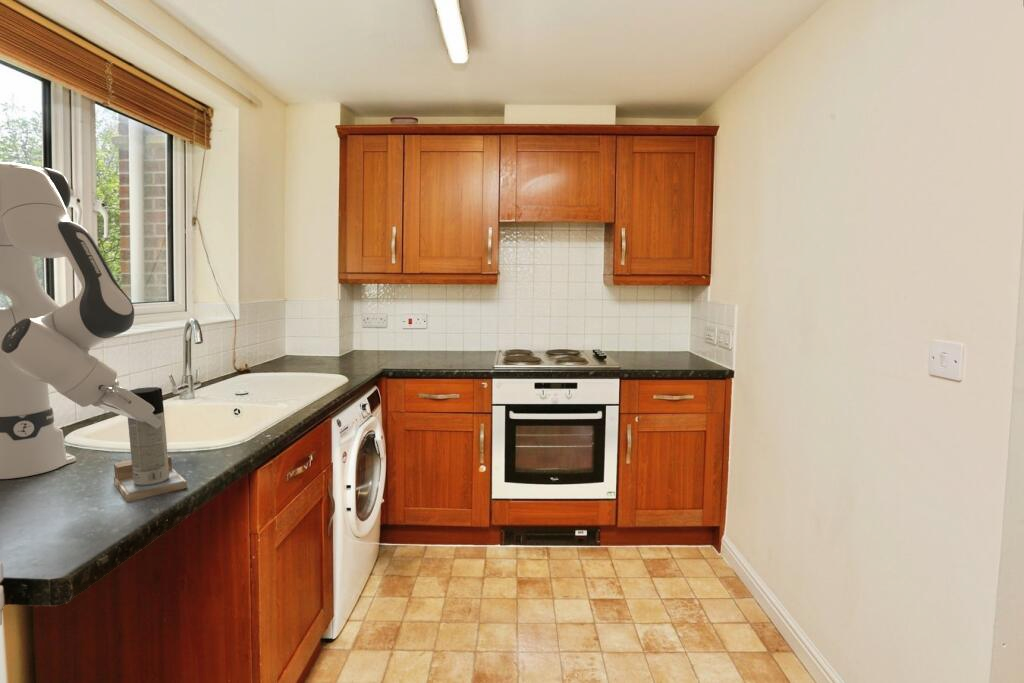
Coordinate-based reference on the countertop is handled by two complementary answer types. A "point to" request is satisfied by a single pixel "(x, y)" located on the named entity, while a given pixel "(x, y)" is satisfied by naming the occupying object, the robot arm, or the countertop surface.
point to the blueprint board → (135, 492)
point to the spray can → (149, 442)
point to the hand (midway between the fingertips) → (149, 422)
